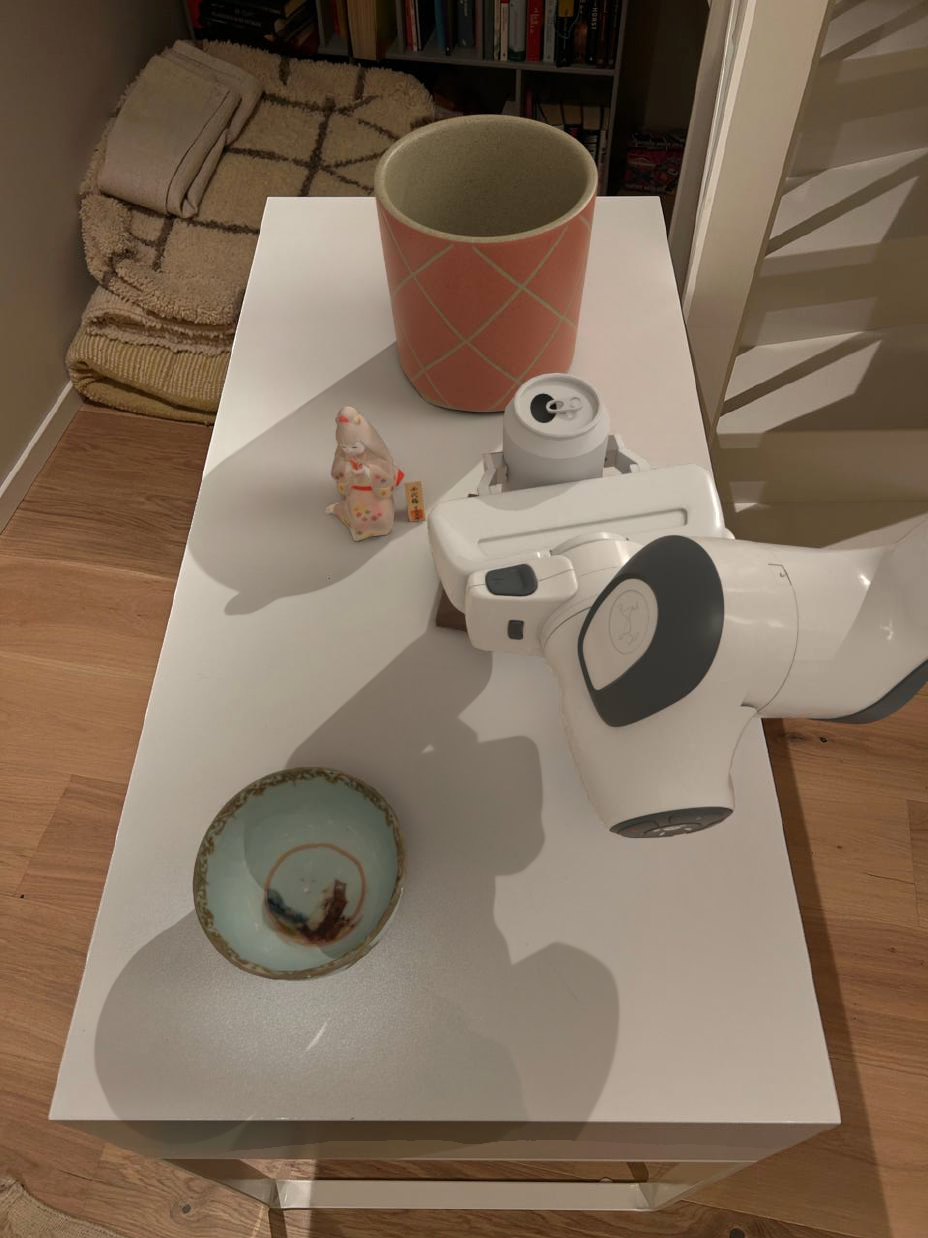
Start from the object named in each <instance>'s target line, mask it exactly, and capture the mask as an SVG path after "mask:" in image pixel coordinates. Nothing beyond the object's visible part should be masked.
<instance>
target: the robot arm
mask: <svg viewBox="0 0 928 1238" xmlns="http://www.w3.org/2000/svg"><path fill="white" fill-rule="evenodd" d="M482 456H483V457H482V458H483V464H482V465H483V472H484V473H483V476H482V477H481V480H480V482H479V484H478V486H477V495H478V496H476V497H469V498H468V497H464V498H463V497H462V498H457V499H451V500H443V501H439V502H436V503H435V504H434V505H433V507H432V508H431V509H430V511H429V512H428V514H427V515H426V516H427V517H426V522H427V524H426V526H427V534H428V540H429V541H428V543H429V547H430V551H431V556H432V558H433V562H434V565H435V568H436V571H437V574H438V577H439V580H440V582H441V585H442V587H443V589H445V592H446V594H447V596H448V598H449V600H450V601H451V603H452V604H453V605H454V606H455V607H456V608H457V609H458V610H459V611H461V612H462V613H464V614H465V620H466V626H467V631H466V632H467V635H468V638H469V640H470V643H471V645H472V646H473V647H474V648H475V649H478V650H481V651H482V650H483V651H488V652H489V651H490V652H500V653H510V654H516V655H517V654H518V655H524V656H530V657H531V656H532V657H537V658H542V659H544V660H545V662H546V664H547V665H546V666H547V667H548V669H549V670H550V672H551V673H552V675H553V677H554V679H556V682H557V684H558V688H559V695H560V696H559V697H560V698H559V714H560V719H561V723H562V726H563V731H564V734H565V738H566V741H567V743H568V747H569V750H570V753H571V757H572V759H573V763H574V765H575V768H576V771H577V774H578V777H579V779H580V782H581V784H582V788H583V790H584V792H585V794H586V797H587V799H588V801H589V803H590V805H591V807H592V809H593V811H594V813H595V814H596V816H597V817H598V820H599V821H600V822H601V824H602V826H604V827H605V829H606V830H608V831H609V832H610V833H613V834H616V835H618V836H621V837H623V838H627V839H628V838H629V839H656V838H658V839H659V838H670V837H675V836H679V835H684V834H685V835H688V834H692V833H697V832H701V831H704V830H707V829H710V828H712V827H714V826H717V825H719V824H721V823H723V822H724V821H725V820H726V819H727V818H729V817H731V816H732V814H733V813H734V812H735V809H736V797H735V789H734V784H733V778H732V774H731V770H732V765H733V760H734V756H735V753H736V751H737V750H736V749H737V747H738V745H739V741H740V739H741V737H742V735H743V734H744V731H745V730H746V728H747V727H748V725H749V723H750V722H751V720H752V719H806V720H811V721H818V722H819V721H820V722H828V723H837V724H843V725H866V724H872V723H875V722H878V721H882V720H884V719H886V718H888V717H890V716H892V715H893V714H895V713H896V712H898V711H899V710H901V709H902V708H903V707H904V706H906V705H907V704H908V703H909V702H910V701H911V700H912V699H913V698H914V697H915V696H916V695H917V694H918V693H919V692H920V691H921V690H922V689H923V687H924V686H925V685H926V684H927V683H928V517H926V518H925V519H924V520H922V522H920V523H919V524H917V525H916V526H915V527H914V528H912V529H911V530H910V531H908V532H906V533H905V534H904V535H903V536H902V537H900V538H898V539H897V540H895V541H892V542H889V543H887V544H882V545H879V546H873V547H872V546H871V547H862V548H817V547H807V546H797V545H788V544H778V543H769V542H760V541H752V540H746V539H736V537H735V535H734V534H733V533H732V531H731V530H729V529H728V528H727V527H726V525H725V524H726V523H725V518H724V513H723V508H722V504H721V499H720V496H719V493H718V492H719V491H718V490H717V487H716V484H715V480H714V478H713V475H712V473H711V472H710V471H709V470H707V469H706V468H704V467H702V466H701V465H699V464H697V463H686V464H679V465H672V466H665V467H661V468H653V469H651V467H650V465H649V462H648V461H647V460H646V459H644V458H642V457H641V456H640V455H638V454H637V453H635V452H634V451H632V450H631V449H629V448H626V445H625V443H624V440H623V438H622V435H621V433H615V434H609V436H608V443H607V449H606V455H605V462H604V468H603V469H607V468H615V469H616V470H617V471H618V472H620V474H614V475H608V476H602V477H600V478H594V479H587V480H581V481H574V482H568V483H561V484H554V485H548V486H541V487H535V488H528V489H522V490H515V491H509V492H502V493H501V492H499V488H498V485H502V484H503V483H507V472H508V466H507V463H506V461H505V459H504V454H503V451H502V450H501V451H495V452H487V453H483V455H482Z"/></svg>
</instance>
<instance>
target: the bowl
mask: <svg viewBox="0 0 928 1238" xmlns="http://www.w3.org/2000/svg"><path fill="white" fill-rule="evenodd" d="M403 830H404V829H403V827H402V825H401V823H400V821H399V818H398V816H397V814H396V812H395V811H394V809H393V807H392V806H391V805H390V803H389V802H388V801H387V800H386V799H385V798H384V796H382V794H380V793H379V791H377V790H376V789H375V788H374V787H372V785H369V784H368V783H366V782H365V781H363V780H362V779H360V778H357V777H356V776H353V775H350V774H348V773H347V772H343V771H341V770H337V769H333V768H328V767H320V766H298V767H294V768H287V769H283V770H279V771H278V770H277V771H274V772H272V773H269V774H267V775H265V776H262V777H261V778H258V779H256V780H254V781H252V782H251V783H249V784H248V785H247V786H245V787H244V788H242V789H241V790H240V791H238V792H237V793H236V794H235V795H233V796H232V797H231V798H230V799H229V800H228V801H227V802H226V803H225V804H224V805H223V807H222V808H221V809H220V810H219V812H218V813H217V814H216V815H215V817H214V818H213V820H212V821H211V823H210V824H209V826H208V827H207V829H206V832H205V833H204V835H203V838H202V840H201V842H200V846H199V847H198V851H197V854H196V857H195V862H194V866H193V876H192V895H193V896H192V897H193V904H194V910H195V913H196V916H197V919H198V922H199V925H200V926H201V928H202V930H203V932H204V934H205V936H206V937H207V939H208V940H209V942H210V943H211V944H212V946H213V947H214V949H215V950H216V951H217V952H218V953H219V954H220V955H221V956H222V957H224V959H225V960H227V961H228V963H230V964H231V965H233V966H235V967H236V968H238V969H239V970H241V971H243V972H245V973H248V974H250V975H253V976H257V977H260V978H262V979H263V978H264V979H268V980H273V981H288V982H307V981H314V980H319V979H323V978H327V977H332V976H334V975H336V974H338V973H341V972H344V971H346V970H348V969H350V968H351V967H352V966H353V965H355V964H357V963H358V962H359V961H360V960H361V959H363V958H364V957H366V956H367V955H368V954H370V952H371V951H372V950H373V949H374V948H375V947H376V946H377V945H378V944H379V943H380V942H381V940H382V938H383V937H384V936H385V935H386V933H387V932H388V930H389V928H390V926H391V925H392V924H393V921H394V919H395V917H396V914H397V912H398V909H399V907H400V905H401V899H402V896H403V892H404V891H403V890H404V887H405V882H406V879H407V873H408V862H409V861H408V860H409V856H408V846H407V842H406V838H405V834H404V831H403Z"/></svg>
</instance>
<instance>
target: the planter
mask: <svg viewBox="0 0 928 1238" xmlns="http://www.w3.org/2000/svg"><path fill="white" fill-rule="evenodd" d="M598 185H599V173H598V167H597V165H596V162H595V159H594V158H593V156H592V154H591V153H590V152H589V150H588V149H587V148H586V147H585V146H584V145H583V144H582V143H581V142H580V141H578V139H576V138H575V137H573V136H572V135H570V134H568V133H567V132H565V131H564V130H561V129H559V128H557V127H555V126H552V125H549V124H547V123H544V122H542V121H538V120H535V119H531V118H526V117H520V116H514V115H505V114H473V115H462V116H456V117H451V118H446V119H444V120H443V119H442V120H438V121H435V122H432V123H429V124H426V125H424V126H422V127H419V128H417V129H415V130H413V131H411V132H409V133H407V134H406V135H404V136H402V137H400V138H399V139H398V140H396V141H395V142H394V143H393V144H391V146H389V147H388V149H387V150H386V151H384V153H383V154H382V156H381V157H380V159H379V161H378V162H377V164H376V167H375V169H374V175H373V191H374V199H375V204H376V205H375V206H376V212H377V219H378V227H379V232H380V233H379V234H380V241H381V247H382V248H381V249H382V255H383V262H384V268H385V269H384V270H385V275H386V280H387V287H388V293H389V300H390V306H391V313H392V319H393V326H394V333H395V339H396V340H395V341H396V346H397V353H398V358H399V362H400V364H401V367H402V370H403V372H404V374H405V376H406V377H407V378H408V380H409V381H410V382H411V384H412V385H413V386H414V388H415V389H416V390H417V392H418V394H419V395H420V396H421V398H422V399H423V400H424V401H425V402H427V403H428V404H431V405H434V406H436V407H440V408H443V409H449V410H455V411H463V412H474V413H495V412H496V413H497V412H505V410H506V407H507V405H508V404H509V403H510V401H511V400H512V398H513V397H514V396H515V393H516V392H517V391H518V389H519V388H520V386H521V385H522V384H524V383H525V382H527V381H528V380H530V379H531V378H534V377H537V376H540V375H543V374H551V373H563V374H568V372H569V370H570V368H571V366H572V364H573V363H572V362H573V359H574V356H575V351H576V350H575V349H576V343H577V336H578V328H579V323H580V315H581V308H582V300H583V293H584V287H585V280H586V274H587V267H588V260H589V254H590V245H591V237H592V230H593V222H594V215H595V214H594V213H595V206H596V199H597V193H598Z"/></svg>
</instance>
